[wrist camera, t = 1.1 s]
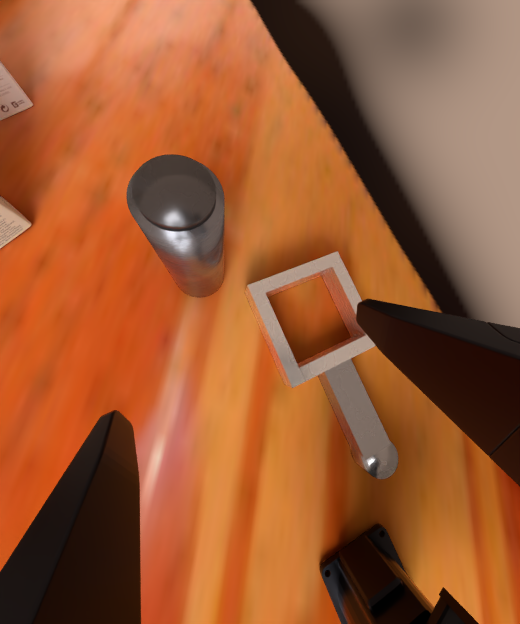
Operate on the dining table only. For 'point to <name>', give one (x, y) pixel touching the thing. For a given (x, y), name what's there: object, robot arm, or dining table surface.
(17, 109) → the supplement box
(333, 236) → the dining table surface
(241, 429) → the dining table surface
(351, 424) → the square frame with handle
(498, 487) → the dining table surface
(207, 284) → the dark grey metal cylinder
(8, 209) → the box
